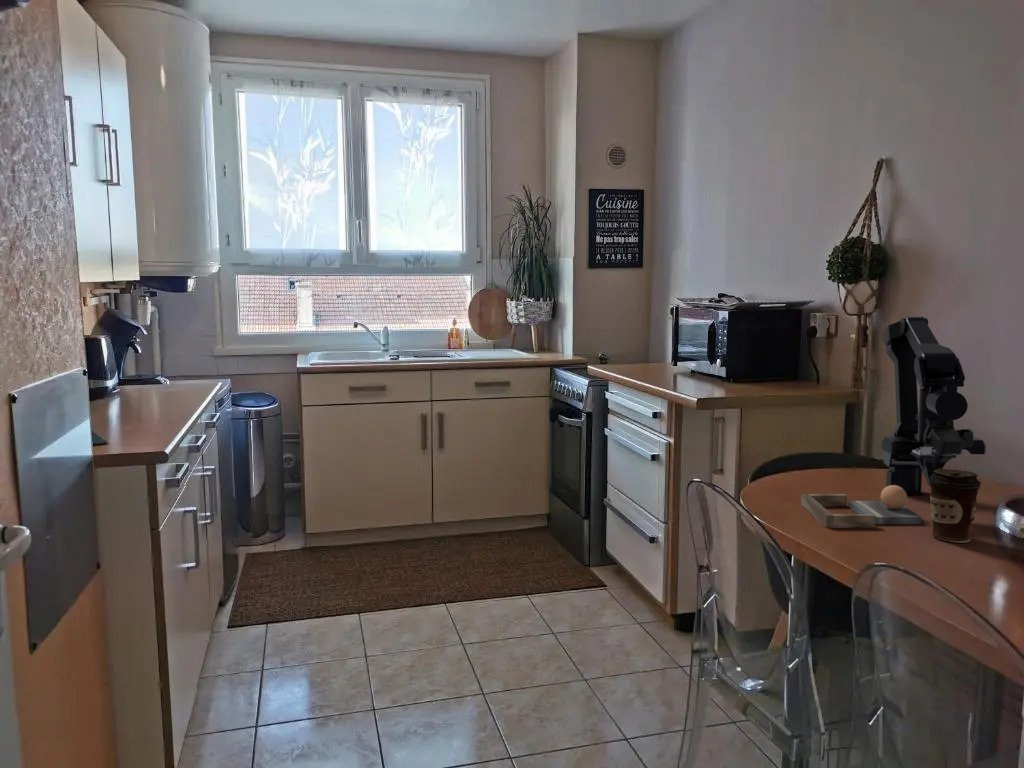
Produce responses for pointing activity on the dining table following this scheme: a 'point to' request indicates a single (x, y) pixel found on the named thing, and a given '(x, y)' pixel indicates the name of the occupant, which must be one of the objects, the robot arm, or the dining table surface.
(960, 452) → the robot arm
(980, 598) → the dining table surface
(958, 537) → the coffee cup
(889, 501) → the ball
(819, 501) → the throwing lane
